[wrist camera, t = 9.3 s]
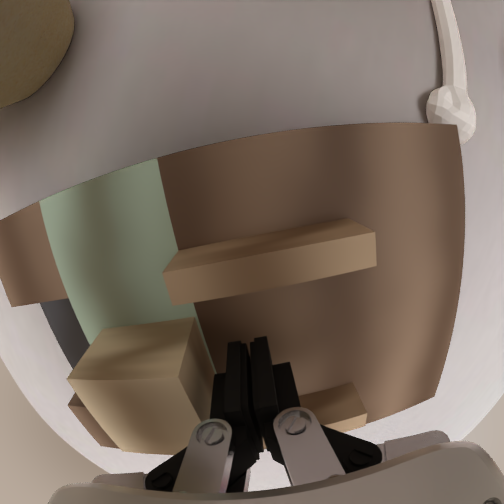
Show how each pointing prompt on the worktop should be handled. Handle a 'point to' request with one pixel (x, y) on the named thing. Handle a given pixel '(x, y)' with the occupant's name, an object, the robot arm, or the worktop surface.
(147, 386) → the block
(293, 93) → the worktop surface
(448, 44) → the white knobbed rod
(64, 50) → the plant pot
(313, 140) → the wooden block puzzle
